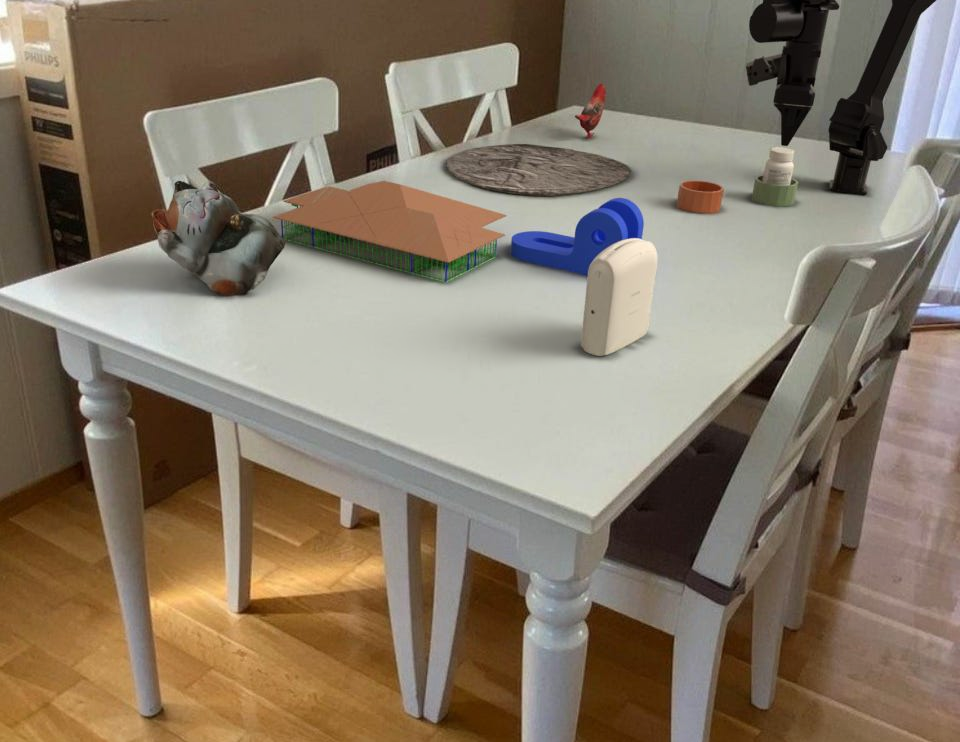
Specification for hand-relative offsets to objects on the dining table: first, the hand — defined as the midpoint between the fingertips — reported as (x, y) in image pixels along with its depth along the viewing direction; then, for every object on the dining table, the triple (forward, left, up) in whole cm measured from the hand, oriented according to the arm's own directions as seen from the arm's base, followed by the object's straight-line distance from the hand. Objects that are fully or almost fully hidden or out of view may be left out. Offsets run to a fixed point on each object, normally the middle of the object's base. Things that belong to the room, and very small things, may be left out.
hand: (785, 139), depth 174 cm
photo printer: (+73, -16, -11) cm, 76 cm away
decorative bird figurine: (-30, -39, -11) cm, 50 cm away
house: (+47, -53, -11) cm, 72 cm away
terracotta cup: (+10, -12, -10) cm, 19 cm away
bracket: (+46, -27, -11) cm, 54 cm away
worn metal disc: (-1, -43, -10) cm, 44 cm away
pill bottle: (0, 0, -10) cm, 10 cm away
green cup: (0, 0, -10) cm, 10 cm away
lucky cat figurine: (+72, -68, -11) cm, 100 cm away
